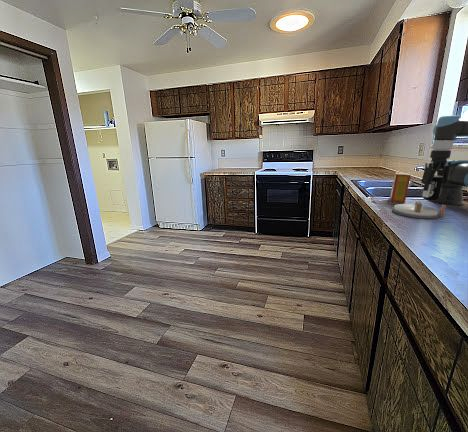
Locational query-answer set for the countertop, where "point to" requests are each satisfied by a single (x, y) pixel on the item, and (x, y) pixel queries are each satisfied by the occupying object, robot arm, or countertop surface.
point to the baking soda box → (400, 187)
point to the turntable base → (422, 216)
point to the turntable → (416, 209)
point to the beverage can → (435, 188)
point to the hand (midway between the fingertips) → (430, 196)
